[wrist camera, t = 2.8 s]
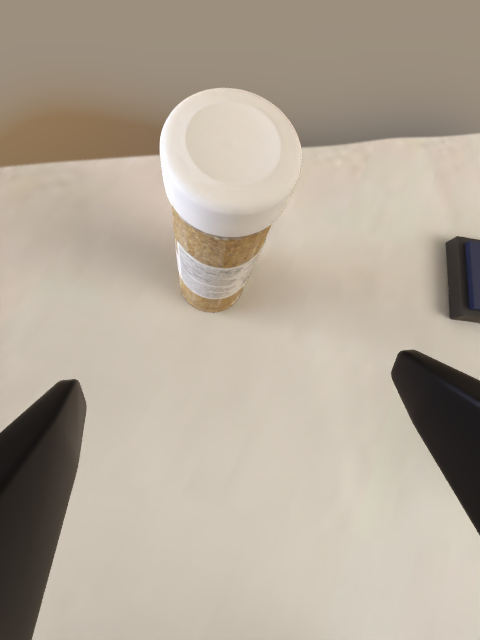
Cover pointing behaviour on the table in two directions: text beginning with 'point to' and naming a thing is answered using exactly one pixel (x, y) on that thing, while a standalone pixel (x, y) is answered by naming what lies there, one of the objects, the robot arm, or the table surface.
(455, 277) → the ink pad
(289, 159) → the sprinkles bottle
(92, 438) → the table surface
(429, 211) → the table surface
